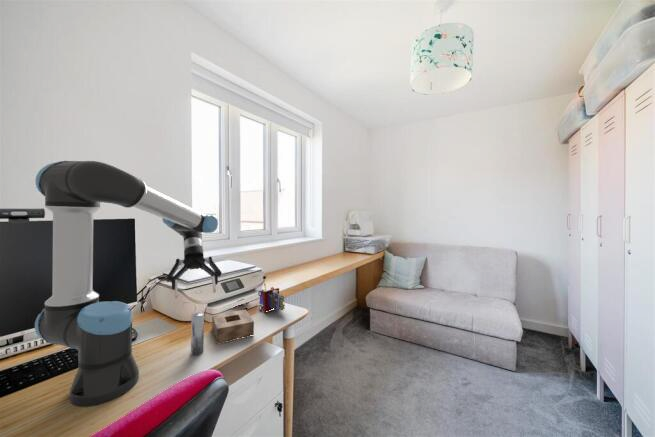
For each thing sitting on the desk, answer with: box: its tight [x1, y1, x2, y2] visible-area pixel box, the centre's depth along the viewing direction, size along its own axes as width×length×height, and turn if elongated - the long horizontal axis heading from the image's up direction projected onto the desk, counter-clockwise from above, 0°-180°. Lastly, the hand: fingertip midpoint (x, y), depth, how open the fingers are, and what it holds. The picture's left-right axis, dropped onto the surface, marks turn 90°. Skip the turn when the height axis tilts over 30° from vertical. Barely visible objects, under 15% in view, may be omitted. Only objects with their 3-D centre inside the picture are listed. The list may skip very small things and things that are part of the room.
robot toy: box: [257, 275, 286, 314], centre depth 133 cm, size 17×9×20 cm
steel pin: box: [190, 311, 205, 357], centre depth 93 cm, size 4×4×14 cm
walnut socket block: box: [211, 309, 255, 345], centre depth 109 cm, size 14×14×6 cm
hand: (196, 293), depth 103 cm, fingers open, 13 cm apart
